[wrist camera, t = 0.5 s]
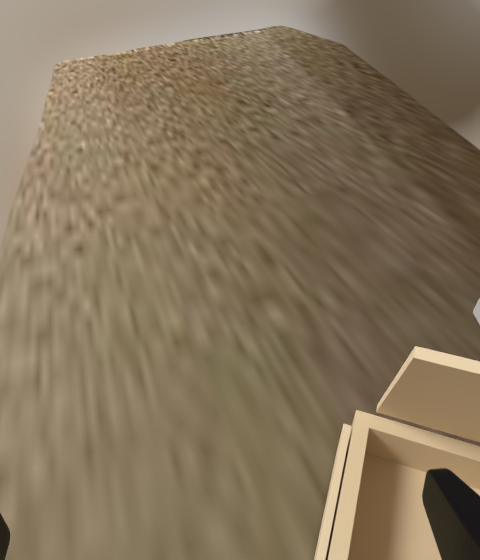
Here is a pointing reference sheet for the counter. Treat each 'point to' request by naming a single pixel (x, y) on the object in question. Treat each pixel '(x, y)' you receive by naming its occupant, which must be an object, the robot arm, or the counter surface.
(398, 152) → the counter surface
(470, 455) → the carton
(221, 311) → the counter surface
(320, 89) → the counter surface
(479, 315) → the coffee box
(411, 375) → the flap
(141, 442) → the counter surface
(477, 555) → the robot arm
